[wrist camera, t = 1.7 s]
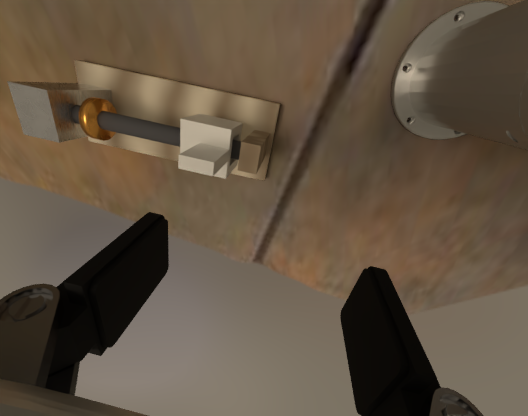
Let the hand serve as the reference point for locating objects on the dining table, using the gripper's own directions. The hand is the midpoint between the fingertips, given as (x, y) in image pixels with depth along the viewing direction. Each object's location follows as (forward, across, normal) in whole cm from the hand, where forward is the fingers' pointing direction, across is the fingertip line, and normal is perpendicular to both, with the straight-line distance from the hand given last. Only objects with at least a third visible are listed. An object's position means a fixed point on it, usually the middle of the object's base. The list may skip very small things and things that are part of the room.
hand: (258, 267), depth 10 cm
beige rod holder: (+24, +15, 0) cm, 28 cm away
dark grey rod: (+18, +15, 0) cm, 23 cm away
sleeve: (+19, +8, 0) cm, 21 cm away
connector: (+22, +24, 0) cm, 33 cm away
